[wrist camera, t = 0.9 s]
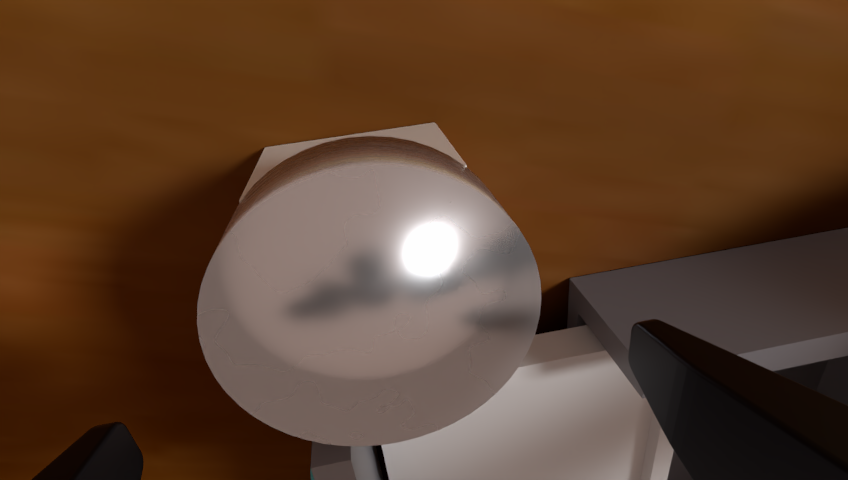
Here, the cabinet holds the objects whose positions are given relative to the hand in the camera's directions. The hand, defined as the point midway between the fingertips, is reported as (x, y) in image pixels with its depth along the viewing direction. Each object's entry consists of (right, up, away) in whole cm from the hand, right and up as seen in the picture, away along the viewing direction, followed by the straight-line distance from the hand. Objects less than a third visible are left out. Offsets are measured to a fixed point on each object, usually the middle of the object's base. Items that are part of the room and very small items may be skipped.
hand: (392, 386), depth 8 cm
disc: (-1, +2, +3) cm, 4 cm away
